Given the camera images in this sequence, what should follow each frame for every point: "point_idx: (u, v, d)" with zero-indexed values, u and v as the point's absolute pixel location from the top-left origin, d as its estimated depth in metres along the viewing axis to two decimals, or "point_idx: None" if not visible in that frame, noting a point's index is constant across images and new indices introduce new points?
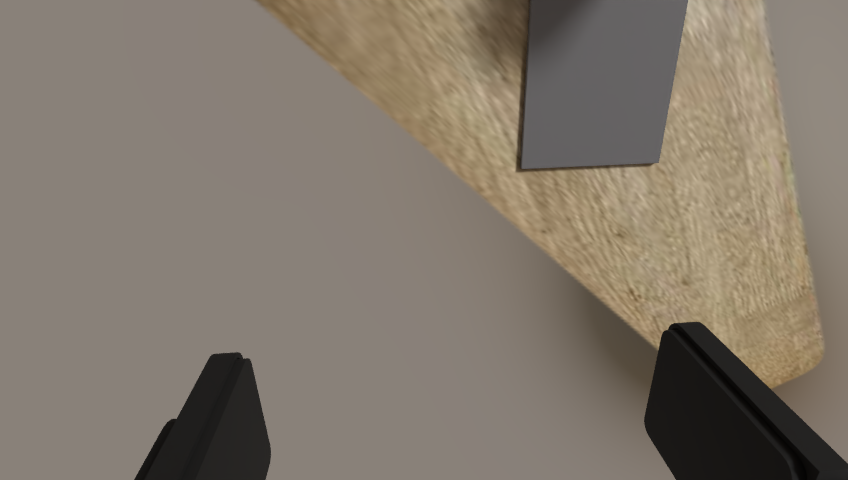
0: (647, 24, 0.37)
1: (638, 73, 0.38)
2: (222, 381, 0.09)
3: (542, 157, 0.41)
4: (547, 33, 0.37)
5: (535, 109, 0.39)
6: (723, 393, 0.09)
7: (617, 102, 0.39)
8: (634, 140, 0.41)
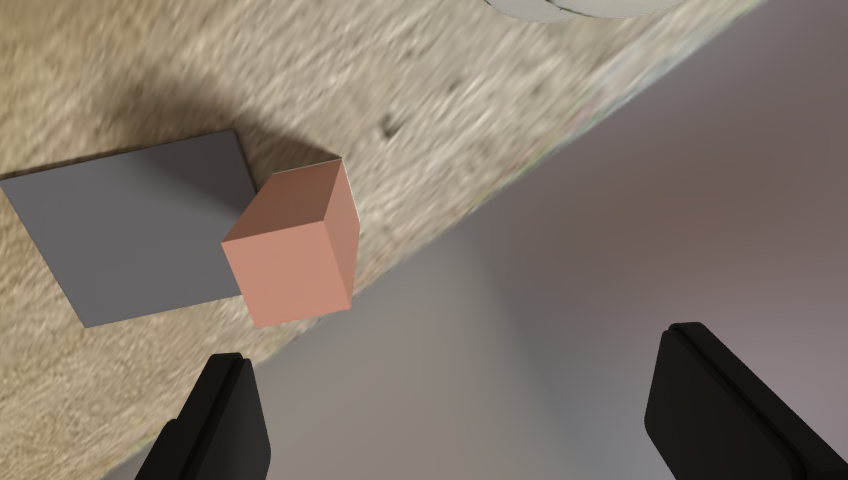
0: (210, 265, 0.36)
1: (163, 274, 0.36)
2: (222, 381, 0.09)
3: (25, 202, 0.33)
4: (161, 167, 0.32)
5: (76, 177, 0.32)
6: (723, 393, 0.09)
7: (125, 263, 0.35)
8: (96, 295, 0.36)
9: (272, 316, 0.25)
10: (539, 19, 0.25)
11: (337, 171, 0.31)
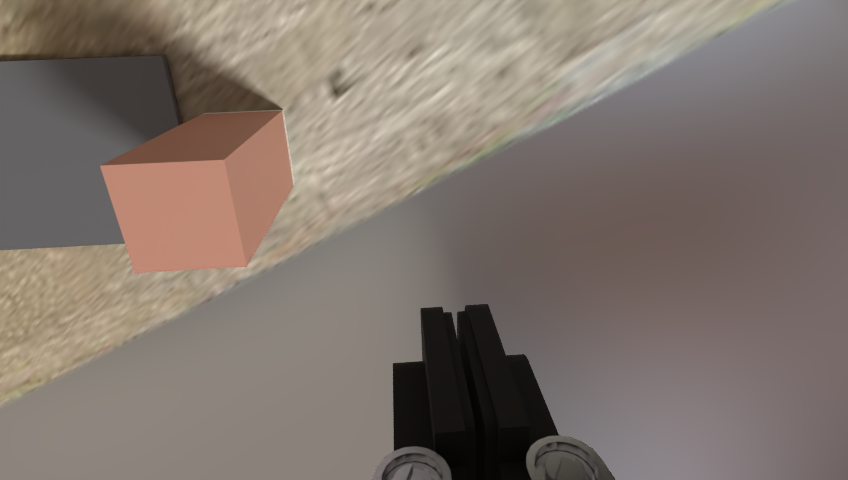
0: None
1: (65, 205, 0.32)
2: (445, 328, 0.10)
3: None
4: (75, 83, 0.29)
5: None
6: None
7: (23, 186, 0.31)
8: None
9: (154, 261, 0.22)
10: None
11: (270, 119, 0.28)
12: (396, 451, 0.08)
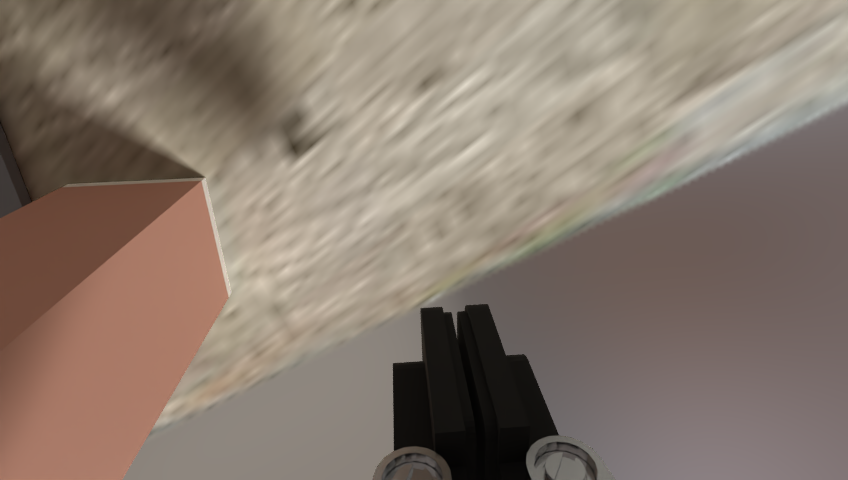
0: None
1: None
2: (445, 328, 0.10)
3: None
4: None
5: None
6: None
7: None
8: None
9: None
10: None
11: (164, 210, 0.15)
12: (396, 451, 0.08)
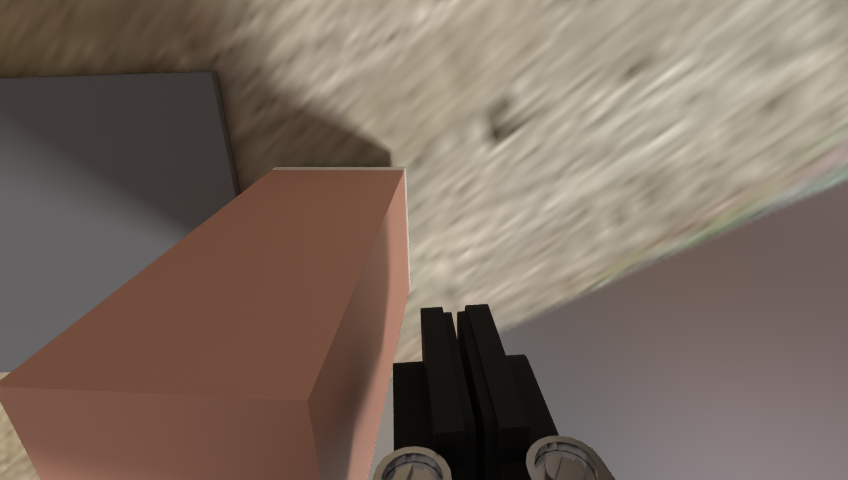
0: None
1: (44, 310, 0.20)
2: (445, 328, 0.10)
3: None
4: (59, 119, 0.17)
5: None
6: None
7: None
8: None
9: None
10: None
11: (390, 198, 0.15)
12: (396, 451, 0.08)
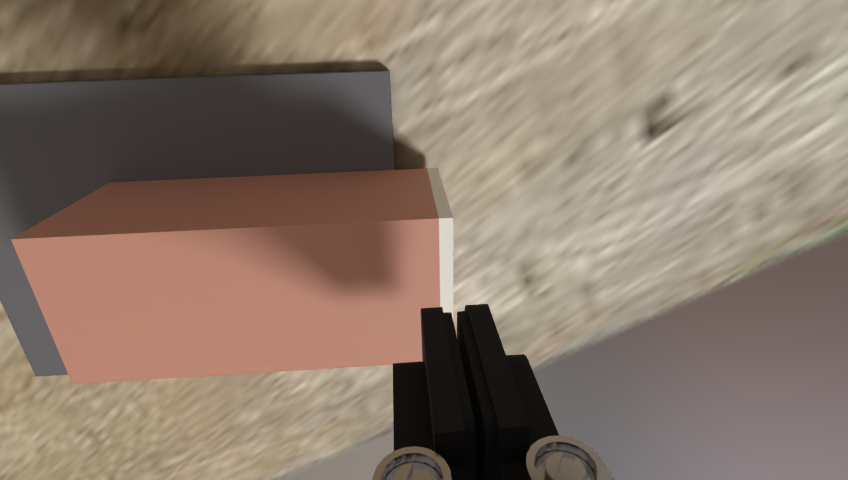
0: None
1: None
2: (445, 328, 0.10)
3: None
4: (236, 118, 0.17)
5: (65, 108, 0.16)
6: None
7: None
8: None
9: None
10: None
11: (331, 223, 0.13)
12: (396, 451, 0.08)
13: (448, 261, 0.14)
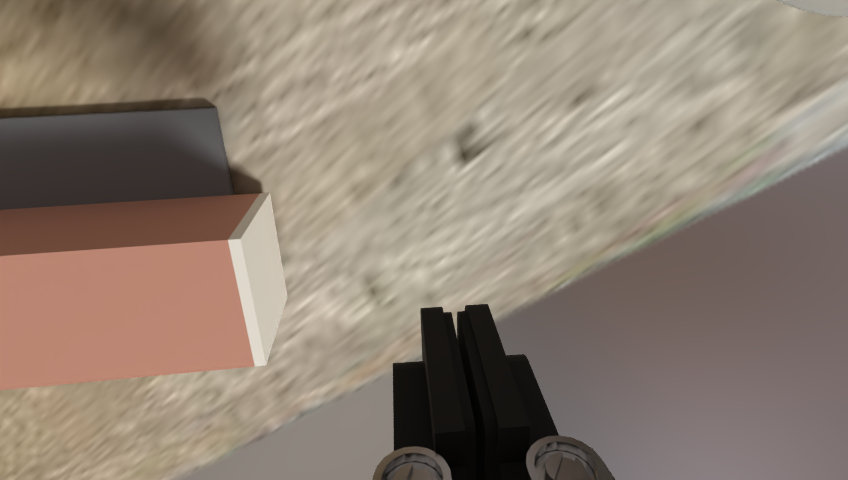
0: None
1: None
2: (446, 328, 0.10)
3: None
4: (76, 152, 0.19)
5: None
6: None
7: None
8: None
9: None
10: (827, 4, 0.14)
11: (131, 246, 0.15)
12: (396, 451, 0.08)
13: (244, 277, 0.16)
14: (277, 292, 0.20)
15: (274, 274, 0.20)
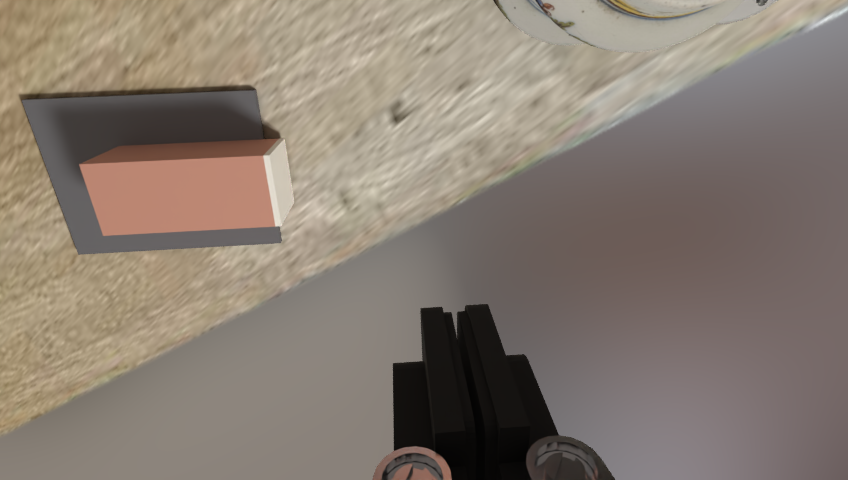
0: None
1: None
2: (445, 328, 0.10)
3: (44, 124, 0.34)
4: (181, 113, 0.35)
5: (98, 109, 0.34)
6: None
7: None
8: (95, 224, 0.38)
9: None
10: (550, 40, 0.29)
11: (216, 157, 0.31)
12: (396, 451, 0.08)
13: (270, 175, 0.32)
14: (288, 194, 0.36)
15: (286, 183, 0.36)
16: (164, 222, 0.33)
